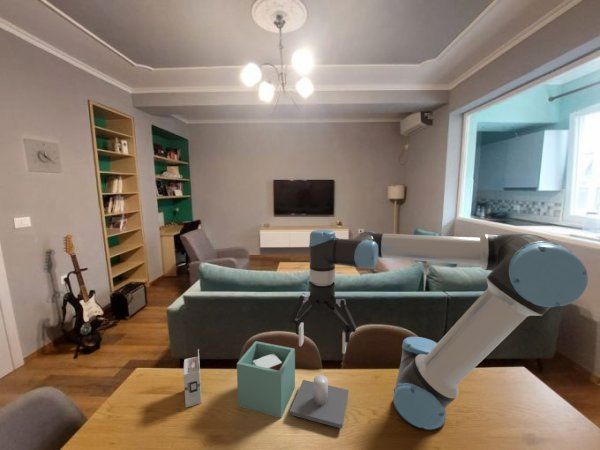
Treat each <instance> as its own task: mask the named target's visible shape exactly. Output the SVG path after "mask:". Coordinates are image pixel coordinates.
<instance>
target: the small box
mask: <svg viewBox="0 0 600 450" xmlns="http://www.w3.org/2000/svg"><path fill="white" fill-rule="evenodd" d="M253 365H256V366H260V367H265V368H269V369H274V370H280V368H281V367H282V362H281V361H280V360H279V359H278V357H277V356H276V355H275V354H274V353H272V354H270V355H267V356H264V357H261V358H259V359H257V360H254V361H253Z"/></svg>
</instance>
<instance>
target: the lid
mask: <svg viewBox="0 0 600 450" xmlns="http://www.w3.org/2000/svg"><path fill="white" fill-rule="evenodd" d="M349 394H350V393H349V389H346V388H341V387H338V386H333V385H329V379H328V377H326V376H325V375H321V374H319V375H316V376H314V379H313V381H310V380H305V379H302V381H301V383H300V386H299V389H298V391H297V393H296V396H295V397H294V400H293V402H292V405H291V407H290V410H289V415H290V416H295V417H297V418H302V419H306V420H309V421H313V422H317V423H320V424H324V425H328V426H331V427H335V428H338V429H343V426H344V420H345V417H346V415H345V414H346V411H347V410H346V409H347V404H348V399H349Z"/></svg>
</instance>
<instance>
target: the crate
mask: <svg viewBox="0 0 600 450" xmlns="http://www.w3.org/2000/svg"><path fill="white" fill-rule="evenodd" d="M272 353H274V354H275V355H276V356H277V357H278V359H279V360H280V361H281V362H282V367H281V368H280V370H274V369H269V368H265V367H260V366H256V365H253V361H254V360H257V359H259V358H261V357H264V356H267V355H270V354H272ZM236 377H237V378H236V381H237V405H238V406H237V407H240V408H244V409H247V410H250V411H251V410H252V411H255V412H258V413H262V414H266V415H270V416H272V417H277V418H280V419H282V418H283V415H284V413H285V411H286V409H287V406H288V404H289V401H290V400H291V398H292V395H293V393H294V390H295V389H296V349H295V348H294V347H293V348H292V347H289V346H283V345H278V344H272V343H268V342H267V343H266V342H262V341H256V340H255V341H254V342H253V344H252V345H251V346H250V347H249V348H248V349H247V350H246V352H245V353H244V354H243V355H242V356H241V357H240V359H238V361H237V363H236Z"/></svg>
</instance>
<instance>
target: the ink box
mask: <svg viewBox="0 0 600 450" xmlns="http://www.w3.org/2000/svg"><path fill="white" fill-rule="evenodd" d="M199 352H200V349H199V348H198V349H197V356H194V357H189V358H185V359H184V361H183V382H184V383H183V387H184V399H185V400H184V401H185V402H184V403H185V408H189V407H194V406H196V405H200V404H202V385H201V383H202V382H201V367H200V364H201V363H200V353H199Z"/></svg>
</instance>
